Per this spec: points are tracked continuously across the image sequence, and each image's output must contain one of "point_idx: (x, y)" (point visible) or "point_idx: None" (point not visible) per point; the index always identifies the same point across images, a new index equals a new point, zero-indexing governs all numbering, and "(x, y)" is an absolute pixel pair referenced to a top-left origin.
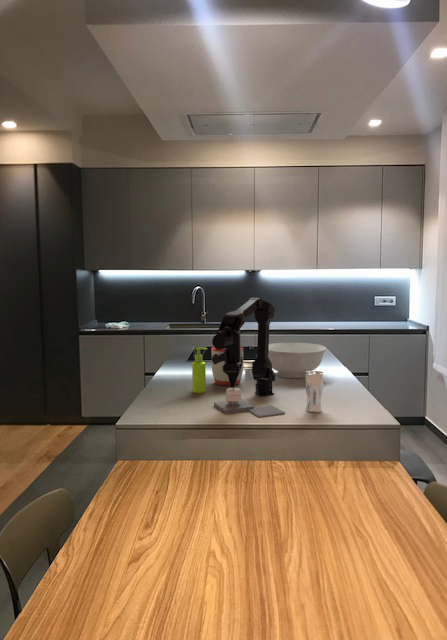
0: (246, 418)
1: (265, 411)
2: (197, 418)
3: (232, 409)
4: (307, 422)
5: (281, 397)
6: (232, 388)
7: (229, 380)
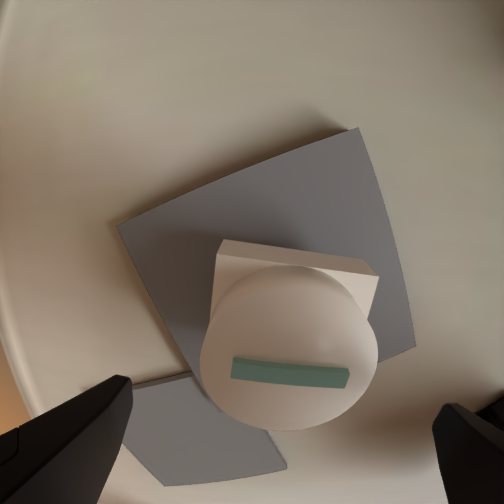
0: (65, 337)
1: (167, 438)
2: (56, 48)
3: (141, 278)
4: None
5: (419, 478)
6: (344, 361)
7: (27, 426)
